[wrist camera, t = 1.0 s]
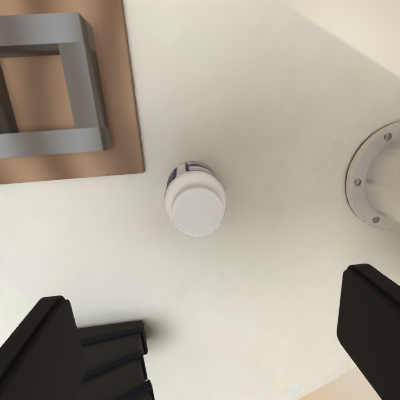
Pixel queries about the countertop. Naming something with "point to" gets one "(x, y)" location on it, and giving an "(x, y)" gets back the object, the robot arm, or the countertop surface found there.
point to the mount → (66, 91)
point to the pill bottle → (195, 200)
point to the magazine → (114, 363)
